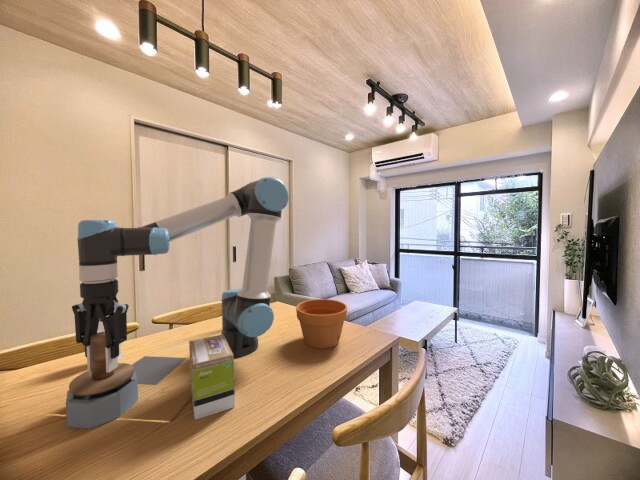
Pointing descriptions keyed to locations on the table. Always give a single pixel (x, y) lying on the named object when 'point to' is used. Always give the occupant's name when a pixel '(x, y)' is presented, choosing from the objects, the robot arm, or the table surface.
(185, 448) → the table surface
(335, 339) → the flower pot
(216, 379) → the tea box
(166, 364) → the mat
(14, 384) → the table surface
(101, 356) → the lid
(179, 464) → the table surface
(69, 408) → the bowl
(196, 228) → the robot arm
